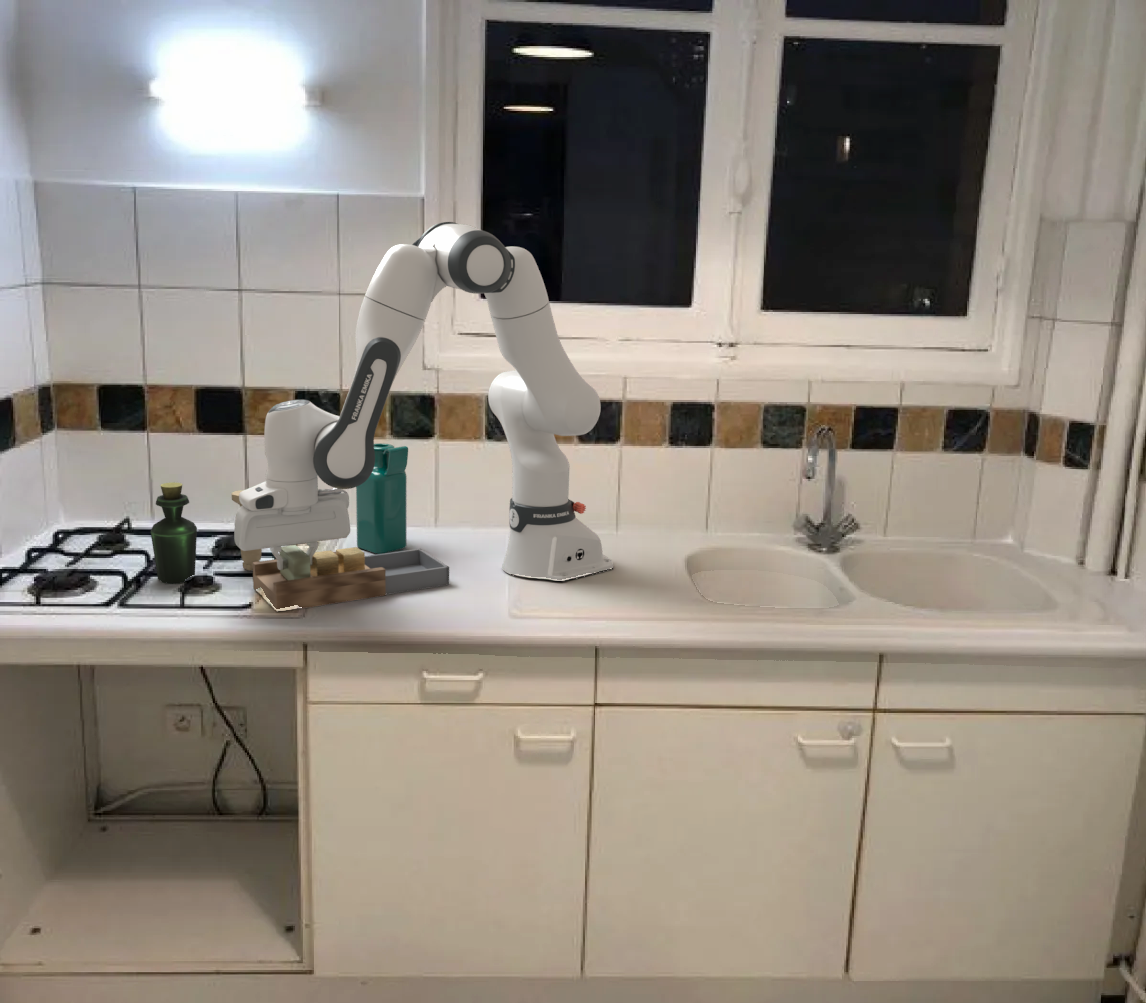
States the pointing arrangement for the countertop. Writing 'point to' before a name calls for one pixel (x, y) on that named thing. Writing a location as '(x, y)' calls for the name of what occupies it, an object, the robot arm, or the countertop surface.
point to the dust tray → (409, 570)
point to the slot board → (317, 586)
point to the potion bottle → (174, 537)
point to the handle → (251, 554)
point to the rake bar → (295, 563)
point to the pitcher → (383, 502)
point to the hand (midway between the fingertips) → (294, 567)
